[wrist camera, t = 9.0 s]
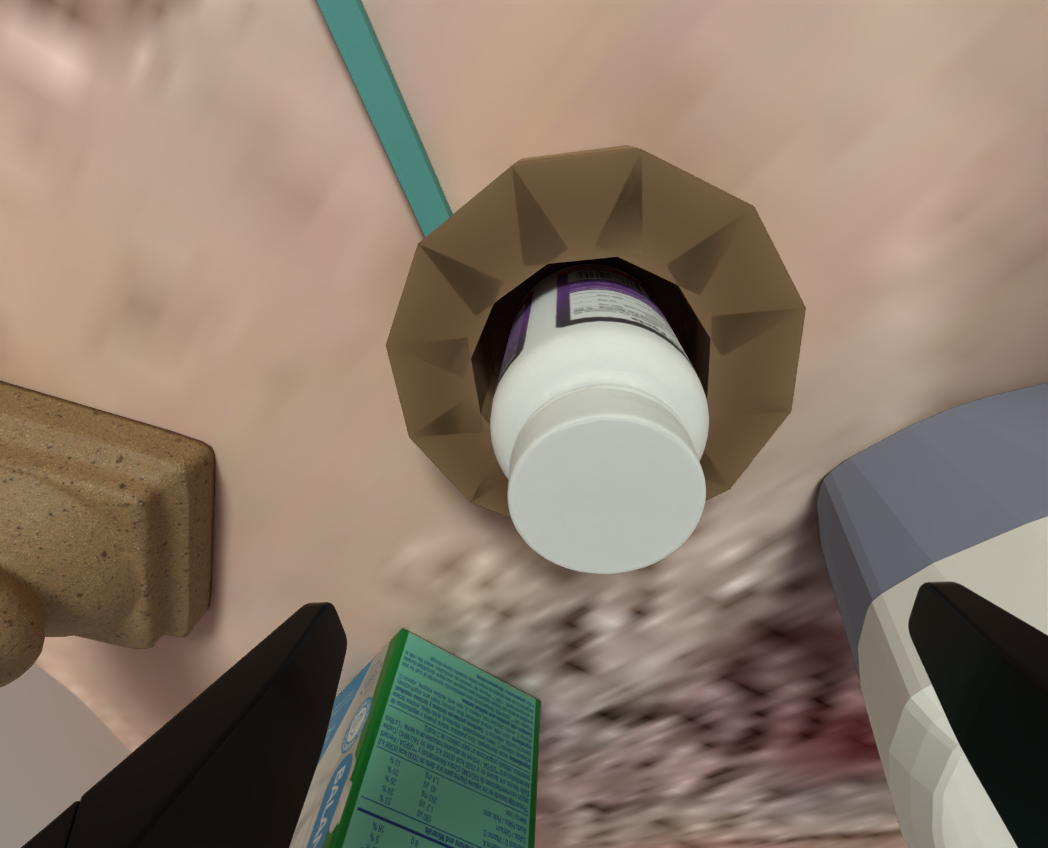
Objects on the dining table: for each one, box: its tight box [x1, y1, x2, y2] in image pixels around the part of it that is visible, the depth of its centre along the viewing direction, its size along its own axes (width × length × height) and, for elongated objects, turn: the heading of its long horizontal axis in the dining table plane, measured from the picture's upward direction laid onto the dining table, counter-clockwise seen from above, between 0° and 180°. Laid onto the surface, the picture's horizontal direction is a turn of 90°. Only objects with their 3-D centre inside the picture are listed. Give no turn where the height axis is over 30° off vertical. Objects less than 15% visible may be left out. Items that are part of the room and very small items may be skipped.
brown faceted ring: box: [386, 146, 806, 518], centre depth 18 cm, size 12×12×4 cm
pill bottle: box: [490, 264, 709, 574], centre depth 15 cm, size 5×5×10 cm
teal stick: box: [317, 0, 453, 237], centre depth 15 cm, size 14×1×1 cm, turn 22°
